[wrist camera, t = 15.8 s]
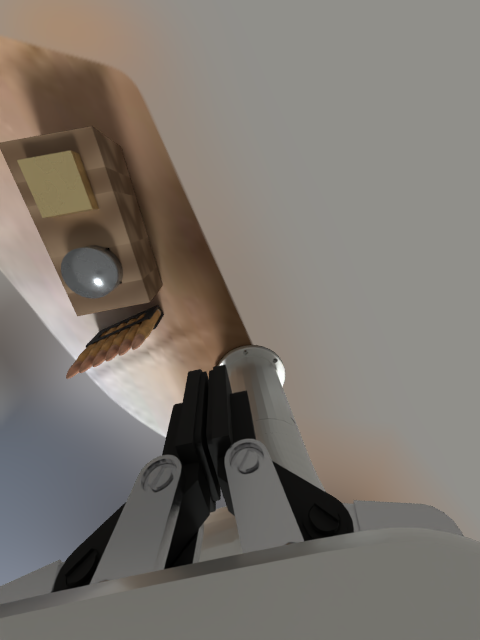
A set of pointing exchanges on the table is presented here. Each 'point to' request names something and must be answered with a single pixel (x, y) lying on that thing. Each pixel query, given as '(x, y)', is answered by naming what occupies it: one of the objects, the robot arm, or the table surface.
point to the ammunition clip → (117, 340)
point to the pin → (91, 271)
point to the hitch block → (93, 215)
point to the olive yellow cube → (58, 184)
